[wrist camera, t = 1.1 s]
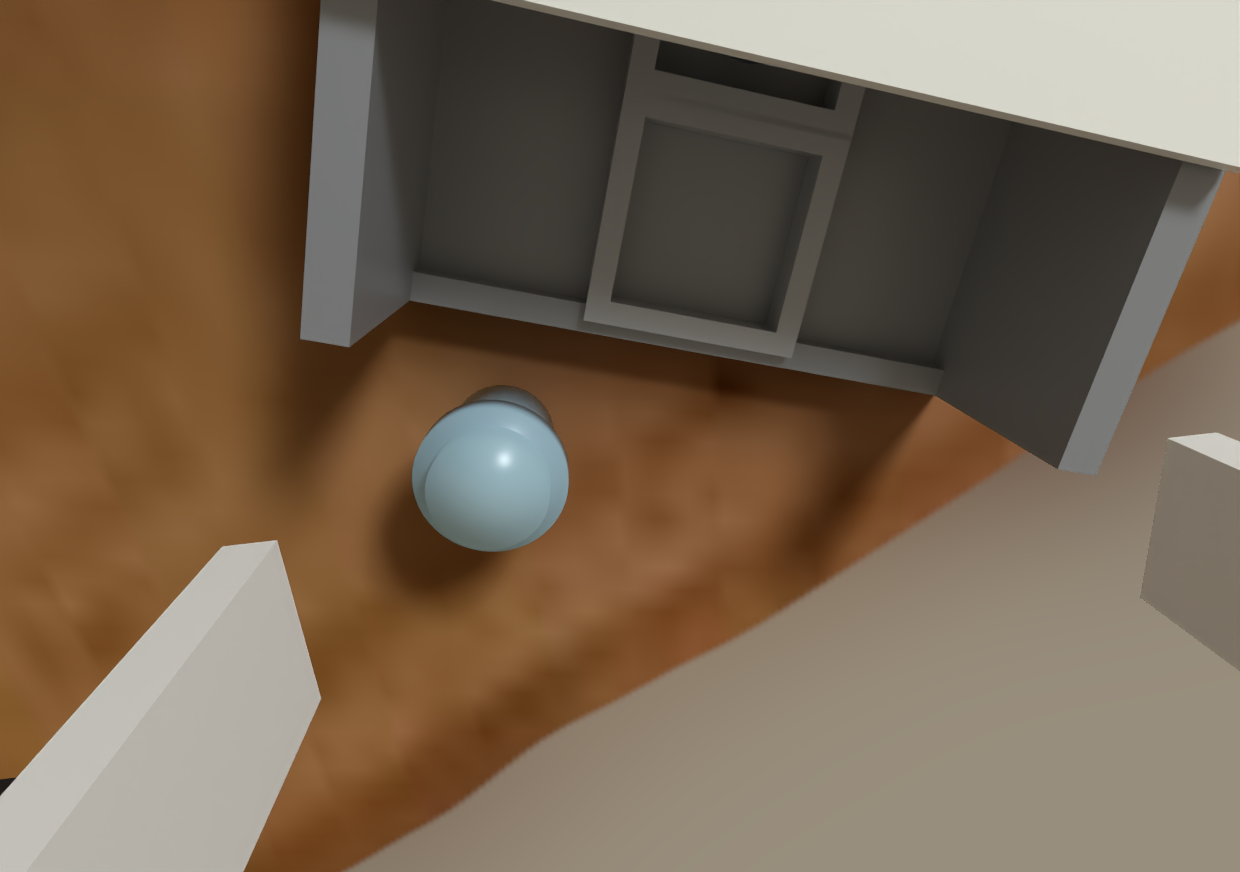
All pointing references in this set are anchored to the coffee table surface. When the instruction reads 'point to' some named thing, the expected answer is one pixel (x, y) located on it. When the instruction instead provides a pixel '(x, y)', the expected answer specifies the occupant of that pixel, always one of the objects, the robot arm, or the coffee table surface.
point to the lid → (989, 57)
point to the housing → (736, 214)
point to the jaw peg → (492, 471)
